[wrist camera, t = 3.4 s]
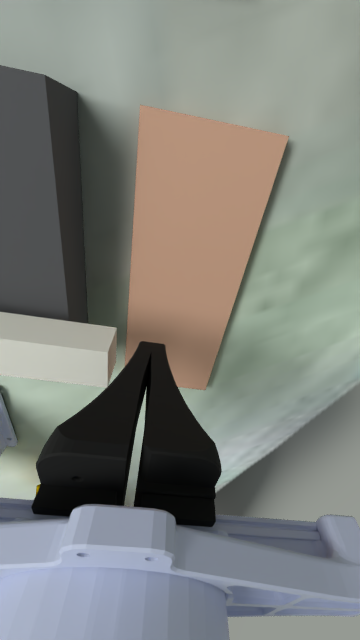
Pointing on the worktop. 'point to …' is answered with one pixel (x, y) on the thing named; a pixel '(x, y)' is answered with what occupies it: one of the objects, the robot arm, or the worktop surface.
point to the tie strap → (56, 350)
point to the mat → (194, 232)
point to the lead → (40, 199)
